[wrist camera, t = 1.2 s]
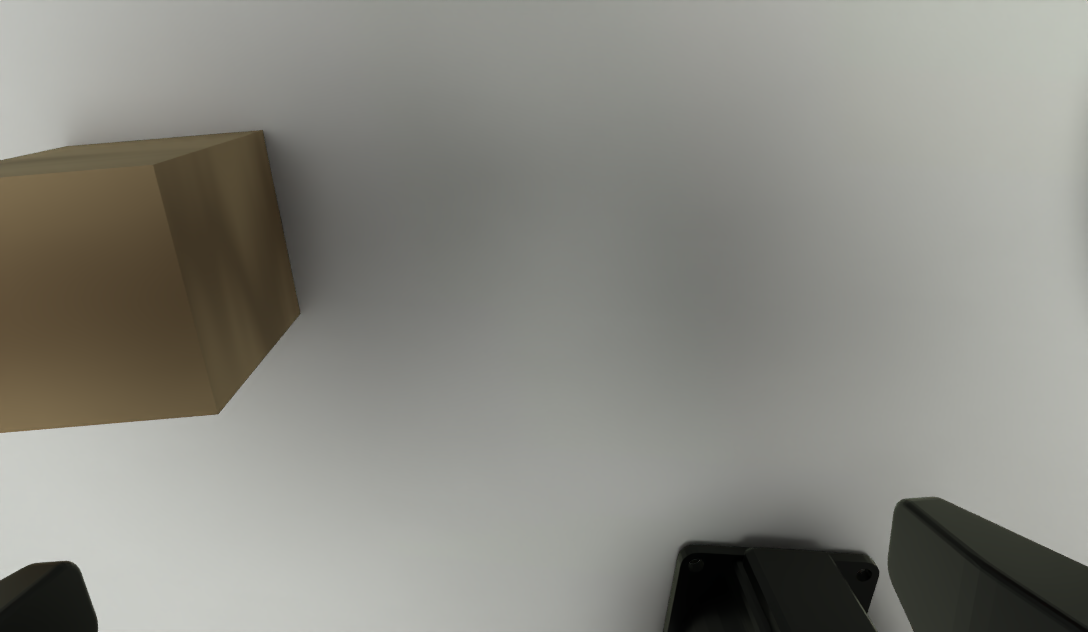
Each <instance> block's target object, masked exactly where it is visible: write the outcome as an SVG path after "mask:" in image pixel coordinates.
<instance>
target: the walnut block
mask: <svg viewBox="0 0 1088 632" xmlns="http://www.w3.org/2000/svg"><path fill="white" fill-rule="evenodd" d="M299 315H300V309H299V304H298V300H297V295H296V290H295V285H294V280H293V275H292V270H291V266H290V261H289V256H288V251H287V246H286V241H285V237H284V232H283V227H282V222H281V217H280V212H279V207H278V203H277V198H276V193H275V188H274V183H273V178H272V174H271V169H270V164H269V159H268V154H267V149H266V144H265V140H264V135H263V130H259V131H247V132H234V133H222V134H210V135H198V136H186V137H174V138H162V139H150V140H137V141H125V142H113V143H101V144H89V145H77V146H66V147H61V148H56V149H52V150H47V151H42V152H38V153H33V154H28V155H24V156H19V157H14V158H10V159H5V160H0V433H5V432H17V431H29V430H40V429H52V428H64V427H75V426H87V425H99V424H110V423H122V422H134V421H145V420H157V419H169V418H180V417H192V416H204V415H215V414H219V413H220V411H221V410H222V409H223V408H224V407H225V405H226V404H227V403H228V402H229V400H230V399H231V398H232V397H233V395H234V394H235V393H236V392H237V391H238V389H239V388H240V387H241V386H242V384H243V383H244V382H245V381H246V380H247V378H248V377H249V376H250V375H251V373H252V372H253V371H254V370H255V369H256V367H257V366H258V365H259V364H260V362H261V361H262V360H263V359H264V358H265V356H266V355H267V354H268V353H269V351H270V350H271V349H272V348H273V347H274V345H275V344H276V343H277V342H278V340H279V339H280V338H281V337H282V336H283V334H284V333H285V332H286V331H287V329H288V328H289V327H290V326H291V325H292V323H293V322H294V321H295V320H296V318H297V317H298V316H299Z"/></svg>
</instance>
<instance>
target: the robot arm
mask: <svg viewBox="0 0 1088 632" xmlns="http://www.w3.org/2000/svg"><path fill="white" fill-rule="evenodd" d="M694 559H699V560H700V561H699V562H697V563H695V564H690V563H689V562H690V561H692V560H694ZM861 569H865V570H864V571H863V572H861V573H858V571H860V570H861ZM888 571H889V576H890V579H891V582H892V585H893V587H894V589H895V591H896V594H897V596H898V598H899V600H900V602H901V605H902V607H903V609H904V611H905V613H906V615H907V618H908V620H909V622H910V624H911V626H912V629H913V631H914V632H1088V567H1087V566H1085V565H1083V564H1081V563H1079V562H1076V561H1074V560H1072V559H1070V558H1068V557H1066V556H1064V555H1061V554H1059V553H1057V552H1055V551H1053V550H1051V549H1049V548H1046V547H1044V546H1042V545H1040V544H1038V543H1036V542H1034V541H1031V540H1029V539H1027V538H1025V537H1023V536H1021V535H1018V534H1016V533H1014V532H1012V531H1010V530H1008V529H1006V528H1003V527H1001V526H999V525H997V524H995V523H993V522H991V521H988V520H986V519H984V518H982V517H980V516H978V515H976V514H973V513H971V512H969V511H967V510H965V509H963V508H961V507H958V506H956V505H954V504H952V503H950V502H948V501H945V500H943V499H941V498H938V497H922V498H909V499H902V500H901V501H899V502H898V503H897V505H896V507H895V509H894V514H893V521H892V529H891V537H890V545H889V552H888ZM878 577H879V569H878V567H877V566H876V564H875V563H874V561H873V560H872V559H871V558H870V557H869V556H867V555H863V554H848V553H831V552H824V551H808V550H791V549H774V548H757V547H754V548H747V547H730V546H713V545H689V546H687V547H684V548H683V549H682V550H681V551H680V553H679V555H678V558H677V564H676V569H675V574H674V579H673V584H672V589H671V594H670V599H669V605H668V610H667V615H666V620H665V625H664V630H663V632H878V631H877V630H876V628H875V627H874V625H873V623H872V622H871V620H870V619H869V617H868V615H867V613H868V609H869V606H870V603H871V600H872V597H873V593H874V590H875V587H876V584H877V581H878ZM0 632H98V621H97V616H96V613H95V611H94V608H93V605H92V602H91V599H90V596H89V593H88V591H87V588H86V585H85V582H84V579H83V576H82V573H81V571H80V569H79V568H78V566H77V565H76V564H74V563H73V562H70V561H56V562H42V563H34V564H30V565H28V566H26V567H24V568H22V569H20V570H18V571H16V572H15V573H13V574H11V575H9V576H7V577H6V578H4V579H2V580H0Z"/></svg>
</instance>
